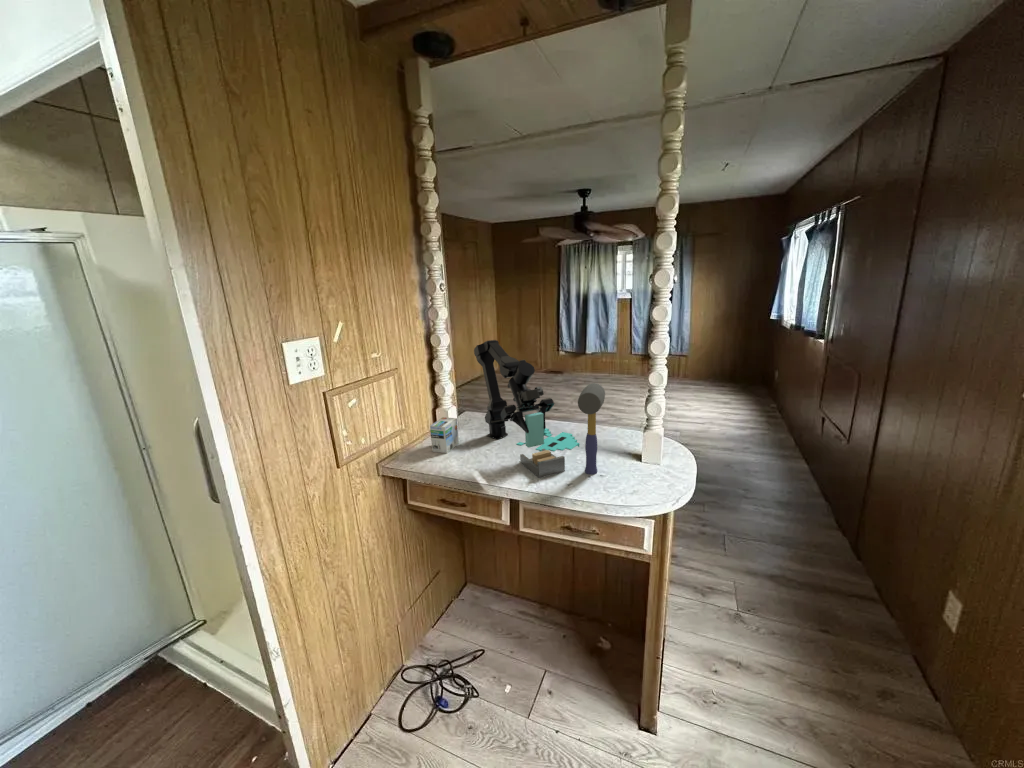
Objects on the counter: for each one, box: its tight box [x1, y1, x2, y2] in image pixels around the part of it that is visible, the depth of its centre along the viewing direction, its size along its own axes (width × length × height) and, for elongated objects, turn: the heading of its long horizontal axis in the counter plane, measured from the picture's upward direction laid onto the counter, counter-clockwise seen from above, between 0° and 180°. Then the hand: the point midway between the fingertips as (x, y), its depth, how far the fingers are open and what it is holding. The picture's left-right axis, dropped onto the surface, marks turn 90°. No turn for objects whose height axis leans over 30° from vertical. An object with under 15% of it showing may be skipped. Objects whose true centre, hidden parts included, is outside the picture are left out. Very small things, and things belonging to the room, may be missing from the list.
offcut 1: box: [531, 450, 552, 465], centre depth 131 cm, size 2×6×5 cm, turn 116°
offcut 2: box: [537, 455, 555, 462], centre depth 129 cm, size 2×6×4 cm, turn 116°
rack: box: [518, 449, 566, 479], centre depth 132 cm, size 14×10×6 cm
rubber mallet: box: [577, 382, 606, 476], centre depth 124 cm, size 12×8×30 cm, turn 160°
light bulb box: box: [429, 416, 460, 454], centre depth 153 cm, size 11×7×11 cm, turn 161°
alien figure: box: [515, 427, 580, 452], centre depth 153 cm, size 20×2×20 cm
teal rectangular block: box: [524, 412, 545, 449], centre depth 133 cm, size 2×6×11 cm, turn 116°
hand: (536, 430), depth 132 cm, fingers closed on teal rectangular block, 6 cm apart
